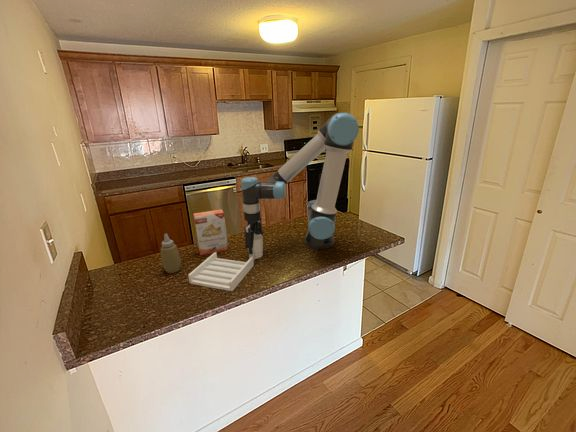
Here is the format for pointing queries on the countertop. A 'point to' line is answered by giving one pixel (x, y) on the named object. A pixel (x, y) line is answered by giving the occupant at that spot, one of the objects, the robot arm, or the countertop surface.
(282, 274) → the countertop surface
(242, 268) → the drying rack
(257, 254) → the white cup
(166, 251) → the squeeze bottle
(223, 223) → the cracker box
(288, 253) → the countertop surface
